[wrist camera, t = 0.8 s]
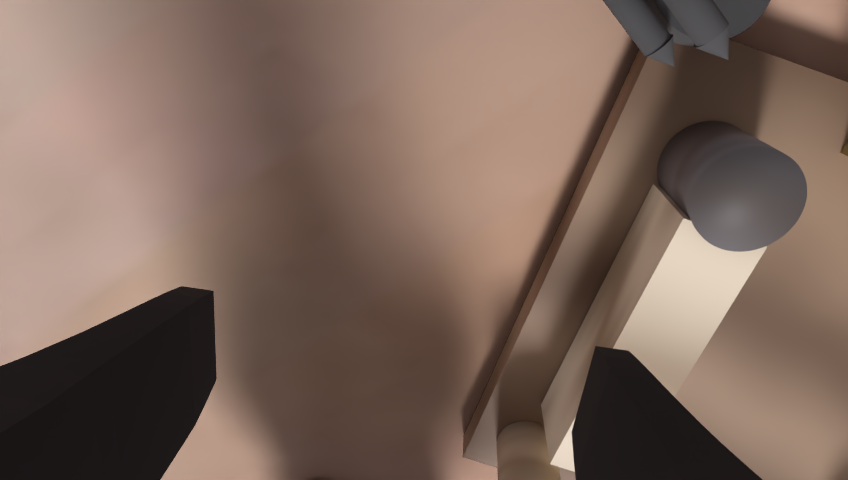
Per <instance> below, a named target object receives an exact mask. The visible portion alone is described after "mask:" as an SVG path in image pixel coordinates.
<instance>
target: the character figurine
mask: <svg viewBox="0 0 848 480" xmlns="http://www.w3.org/2000/svg"><path fill="white" fill-rule="evenodd" d="M603 1H604V2H605V4H606V5H607V6H608V8H609V9H610V10H611V12H612V13H613V14H614V16H615V17H616V18H617V20H618V21H619V22H620V24H621V25H622V26H623V28H624V29H625V30H626V32H627V33H628V34H629V36H630V37H631V38H632V40H633V41H634V42H635V44H636V45H637V46H638V48H639V49H640V50H641V52H642V53H643V54H644V56H646V57H649V58H651V59H654V60H657V61H660V62H662V63H665V64H668V65H671V66H673V67H675V64H674V43H677V44H680V45H686V46H693V47H694V48H697V49H700V50H702V51H705V52H708V53H711V54H713V55H716V56H719V57H722V58H724V59H727V60H728V53H729V38H731V37H734V36H736V35H738V34H740V33H742V32H743V31H745V30H746V29H747V28H749V27H750V26H751V25H752V24H753V23H754V22H755V21H756V20H757V19H758V18H759V17H760V16H761V15H762V13H763V12H764V10H765V9H766V7H767V6H768V4H769V2H770V0H603Z"/></svg>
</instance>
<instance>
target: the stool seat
mask: <svg viewBox="0 0 848 480" xmlns="http://www.w3.org/2000/svg"><path fill="white" fill-rule="evenodd" d="M674 64H675V67H673V66H671V65H668V64H665V63H662V62H660V61H657V60H654V59H651V58H649V57H646V56H644V54H643V53H642V52H641V50H640V49H639V50H638V53H637V55H636V57H635V59H634V61H633V64H632V66H631V68H630V70H629V72H628V75H627V77H626V79H625V81H624V84H623V86H622V88H621V90H620V92H619V95H618V97H617V99H616V101H615V103H614V106H613V108H612V110H611V112H610V114H609V117H608V119H607V121H606V123H605V125H604V128H603V130H602V132H601V134H600V136H599V139H598V141H597V143H596V145H595V147H594V150H593V152H592V154H591V156H590V158H589V161H588V163H587V165H586V167H585V169H584V172H583V174H582V176H581V178H580V181H579V183H578V185H577V187H576V189H575V192H574V194H573V196H572V198H571V200H570V203H569V205H568V207H567V209H566V211H565V214H564V216H563V218H562V220H561V222H560V225H559V227H558V229H557V231H556V233H555V236H554V238H553V240H552V242H551V244H550V247H549V249H548V251H547V253H546V255H545V258H544V260H543V262H542V264H541V266H540V269H539V271H538V273H537V275H536V277H535V280H534V282H533V284H532V286H531V289H530V291H529V293H528V295H527V297H526V300H525V302H524V304H523V306H522V308H521V311H520V313H519V315H518V317H517V319H516V322H515V324H514V326H513V328H512V330H511V333H510V335H509V337H508V339H507V341H506V344H505V346H504V348H503V350H502V352H501V355H500V357H499V359H498V361H497V363H496V366H495V368H494V370H493V372H492V374H491V377H490V379H489V381H488V383H487V385H486V388H485V390H484V392H483V394H482V397H481V399H480V401H479V403H478V405H477V408H476V410H475V412H474V414H473V416H472V419H471V421H470V423H469V425H468V427H467V430H466V432H465V434H464V440H463V457H465V458H468V459H471V460H474V461H477V462H480V463H484V464H487V465H490V466H493V467H496V468H498V480H576V478H575V472H573V471H570V470H567V469H564V468H561V467H557V466H554V465H551V464H550V461H549V455H548V448H547V441H546V435H545V428H544V421H543V415H542V408H541V404H542V402H543V400H544V398H545V396H546V394H547V392H548V390H549V388H550V386H551V384H552V382H553V380H554V378H555V376H556V374H557V372H558V370H559V368H560V366H561V364H562V362H563V360H564V358H565V356H566V354H567V352H568V350H569V348H570V347H571V345H572V343H573V341H574V339H575V337H576V335H577V333H578V331H579V329H580V327H581V325H582V323H583V321H584V319H585V317H586V315H587V313H588V311H589V309H590V307H591V305H592V303H593V301H594V299H595V297H596V295H597V293H598V291H599V289H600V287H601V285H602V284H603V282H604V280H605V278H606V276H607V274H608V272H609V270H610V268H611V266H612V264H613V262H614V260H615V258H616V256H617V254H618V252H619V250H620V248H621V246H622V244H623V242H624V240H625V238H626V236H627V234H628V232H629V230H630V228H631V226H632V224H633V222H634V221H635V219H636V217H637V215H638V213H639V211H640V209H641V207H642V205H643V203H644V201H645V199H646V197H647V195H648V193H649V191H650V189H651V187H652V185H653V184H656V185H658V186H660V185H659V182H658V176H657V168H658V162H659V158H660V156H661V153H662V151H663V150H664V148H665V146H666V145H667V143H668V142H669V141H670V140H671V139H672V138H673V137H674V136H675V135H676V134H677V133H678V132H680V131H681V130H683V129H684V128H686V127H688V126H690V125H693V124H696V123H699V122H703V121H722V122H726V123H729V124H732V125H734V126H736V127H737V128H739V129H741V130H743V131H745V132H746V133H748V134H750V135H752V136H754V137H756V138H757V139H759V140H761V141H763V142H765V143H766V144H768V145H770V146H772V147H774V148H775V149H777V150H779V151H781V152H783V153H784V154H786V155H788V156H789V157H791V158H792V159H793V160H794V161H795V162H796V163H797V164H798V165H799V166H800V168H801V170H802V171H803V173H804V176H805V178H806V183H807V199H806V203H805V207H804V209H803V212H802V214H801V216H800V218H799V219H798V221H797V222H796V223H795V225H794V226H793V227H792V228H791V229H790V230H789V231H788V232H787V233H786V234H785V235H784V236H783V237H781V238H780V239H778V240H777V241H775V242H773V243H772V244H770V245H767V248H766V250H765V252H764V253H763V255H762V256H761V258H760V260H759V261H758V263H757V264H756V266H755V268H754V269H753V271H752V273H751V274H750V276H749V277H748V279H747V281H746V282H745V284H744V285H743V287H742V289H741V290H740V292H739V294H738V295H737V297H736V298H735V300H734V302H733V303H732V305H731V306H730V308H729V310H728V311H727V313H726V315H725V316H724V318H723V319H722V321H721V323H720V324H719V326H718V327H717V329H716V331H715V332H714V334H713V336H712V337H711V339H710V340H709V342H708V344H707V345H706V347H705V348H704V350H703V352H702V353H701V355H700V357H699V358H698V360H697V361H696V363H695V365H694V366H693V368H692V370H691V371H690V373H689V374H688V376H687V378H686V379H685V381H684V382H683V384H682V386H681V387H680V389H679V391H678V392H677V394H676V395H675V398H676V399H677V400H678V401H679V402H680V403H681V404H682V405H683V406H684V407H685V408H686V409H687V410H688V411H689V412H690V413H691V414H692V415H693V416H694V417H695V418H696V419H697V420H698V421H699V422H700V423H701V424H702V425H703V426H704V427H705V428H706V429H707V430H708V431H709V432H710V433H711V434H712V435H714V436H715V437H716V438H717V439H718V440H719V441H720V442H721V443H722V444H723V445H724V446H725V447H726V448H728V449H729V450H730V451H731V452H732V453H733V454H734V455H735V456H736V457H738V458H739V459H740V460H741V461H742V462H743V463H744V464H745V465H747V466H748V467H749V468H750V469H751V470H752V471H753V472H755V473H756V474H757V475H758V476H759V477H760V478H762V479H763V480H848V82H846V81H843V80H841V79H838V78H835V77H832V76H829V75H827V74H824V73H821V72H818V71H816V70H813V69H810V68H807V67H804V66H802V65H799V64H796V63H793V62H791V61H788V60H785V59H782V58H779V57H777V56H774V55H771V54H768V53H765V52H763V51H760V50H757V49H754V48H752V47H749V46H746V45H743V44H740V43H738V42H735V41H732V40H729V53H728V60H727V59H724V58H722V57H719V56H716V55H713V54H711V53H708V52H705V51H702V50H700V49H697V48H694V47H693V46H686V45H680V44H677V43H674Z"/></svg>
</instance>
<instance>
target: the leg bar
mask: <svg viewBox="0 0 848 480" xmlns="http://www.w3.org/2000/svg"><path fill="white" fill-rule="evenodd" d="M657 176H658V182H659V185H660V186H658V185H656V184H653V185H652V187H651V189H650V191H649V193H648V195H647V197H646V199H645V201H644V203H643V205H642V207H641V209H640V211H639V213H638V215H637V217H636V219H635V221H634V222H633V224H632V226H631V228H630V230H629V232H628V234H627V236H626V238H625V240H624V242H623V244H622V246H621V248H620V250H619V252H618V254H617V256H616V258H615V260H614V262H613V264H612V266H611V268H610V270H609V272H608V274H607V276H606V278H605V280H604V282H603V284H602V285H601V287H600V289H599V291H598V293H597V295H596V297H595V299H594V301H593V303H592V305H591V307H590V309H589V311H588V313H587V315H586V317H585V319H584V321H583V323H582V325H581V327H580V329H579V331H578V333H577V335H576V337H575V339H574V341H573V343H572V345H571V347H570V348H569V350H568V352H567V354H566V356H565V358H564V360H563V362H562V364H561V366H560V368H559V370H558V372H557V374H556V376H555V378H554V380H553V382H552V384H551V386H550V388H549V390H548V392H547V394H546V396H545V398H544V400H543V402H542V404H541V408H542V415H543V421H544V428H545V435H546V441H547V448H548V455H549V461H550V464H551V465H554V466H557V467H561V468H564V469H567V470H570V471H573V472H575V468H574V457H573V444H572V429H573V425H574V421H575V418H576V414H577V411H578V407H579V403H580V400H581V396H582V393H583V389H584V385H585V382H586V378H587V375H588V371H589V367H590V364H591V360H592V357H593V353H594V349H595V346H600V347H607V348H614V349H620V350H627V351H630V352H631V353H632V354H633V355H634V356H635V357H636V358H637V359H638V360H639V361H640V362H641V363H642V364H643V365H644V366H645V367H646V368H647V369H648V370H649V371H650V372H651V373H652V374H653V375H654V376H655V377H656V378H657V379H658V380H659V381H660V382H661V383H662V385H663V386H664V387H665V388H666V389H667V390H668V391H669V392H670V393H671V394H672V395H673V396H674V397H675V395H676V394H677V392H678V391H679V389H680V387H681V386H682V384H683V382H684V381H685V379H686V378H687V376H688V374H689V373H690V371H691V370H692V368H693V366H694V365H695V363H696V361H697V360H698V358H699V357H700V355H701V353H702V352H703V350H704V348H705V347H706V345H707V344H708V342H709V340H710V339H711V337H712V336H713V334H714V332H715V331H716V329H717V327H718V326H719V324H720V323H721V321H722V319H723V318H724V316H725V315H726V313H727V311H728V310H729V308H730V306H731V305H732V303H733V302H734V300H735V298H736V297H737V295H738V294H739V292H740V290H741V289H742V287H743V285H744V284H745V282H746V281H747V279H748V277H749V276H750V274H751V273H752V271H753V269H754V268H755V266H756V264H757V263H758V261H759V260H760V258H761V256H762V255H763V253H764V252H765V250H766V248H767V245H770V244H772V243H773V242H775V241H777V240H778V239H780V238H781V237H783V236H784V235H785V234H786V233H787V232H788V231H789V230H790V229H791V228H792V227H793V226H794V225H795V223H796V222H797V221H798V219H799V218H800V216H801V214H802V212H803V209H804V207H805V203H806V199H807V183H806V178H805V176H804V173H803V171H802V170H801V168H800V166H799V165H798V164H797V163H796V162H795V161H794V160H793V159H792V158H791V157H789V156H788V155H786V154H784V153H783V152H781V151H779V150H777V149H775V148H774V147H772V146H770V145H768V144H766V143H765V142H763V141H761V140H759V139H757V138H756V137H754V136H752V135H750V134H748V133H746V132H745V131H743V130H741V129H739V128H737V127H736V126H734V125H732V124H729V123H726V122H722V121H703V122H699V123H696V124H693V125H690V126H688V127H686V128H684V129H683V130H681V131H680V132H678V133H677V134H676V135H675V136H674V137H673V138H672V139H671V140H670V141H669V142H668V143H667V145H666V146H665V148H664V150H663V151H662V153H661V156H660V158H659V162H658V168H657Z"/></svg>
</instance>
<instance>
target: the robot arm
mask: <svg viewBox="0 0 848 480" xmlns="http://www.w3.org/2000/svg"><path fill="white" fill-rule="evenodd" d="M215 381H216V353H215V325H214V296H213V291H210V290H203V289H196V288H190V287H183V286H182V287H179V288H176V289H174V290H171V291H169V292H166V293H164V294H162V295H160V296H158V297H155V298H153V299H151V300H149V301H147V302H145V303H143V304H141V305H138V306H136V307H134V308H132V309H130V310H128V311H126V312H124V313H122V314H120V315H118V316H115V317H113V318H111V319H109V320H107V321H105V322H103V323H101V324H99V325H97V326H94V327H92V328H90V329H88V330H86V331H84V332H82V333H79V334H77V335H75V336H72V337H70V338H68V339H65V340H63V341H61V342H58V343H56V344H54V345H51V346H49V347H47V348H44V349H42V350H40V351H37V352H35V353H33V354H30V355H28V356H26V357H23V358H21V359H18V360H16V361H13V362H10V363H8V364H5V365H2V366H0V480H160V479H161V478H162V476H163V475H164V473H165V471H166V470H167V468H168V467H169V465H170V464H171V462H172V461H173V459H174V458H175V456H176V454H177V453H178V451H179V450H180V448H181V447H182V445H183V443H184V442H185V440H186V439H187V437H188V436H189V434H190V432H191V431H192V429H193V428H194V426H195V424H196V422H197V420H198V418H199V416H200V414H201V412H202V410H203V408H204V406H205V404H206V401H207V399H208V397H209V395H210V392H211V390H212V388H213V386H214V384H215ZM572 444H573V457H574V468H575V478H576V480H763V479H762V478H760V477H759V476H758V475H757V474H756V473H755V472H753V471H752V470H751V469H750V468H749V467H748V466H747V465H745V464H744V463H743V462H742V461H741V460H740V459H739V458H738V457H736V456H735V455H734V454H733V453H732V452H731V451H730V450H729V449H728V448H726V447H725V446H724V445H723V444H722V443H721V442H720V441H719V440H718V439H717V438H716V437H715V436H714V435H712V434H711V433H710V432H709V431H708V430H707V429H706V428H705V427H704V426H703V425H702V424H701V423H700V422H699V421H698V420H697V419H696V418H695V417H694V416H693V415H692V414H691V413H690V412H689V411H688V410H687V409H686V408H685V407H684V406H683V405H682V404H681V403H680V402H679V401H678V400H677V399H676V398H675V397H674V396H673V395H672V394H671V393H670V392H669V391H668V390H667V389H666V388H665V387H664V386H663V385H662V383H661V382H660V381H659V380H658V379H657V378H656V377H655V376H654V375H653V374H652V373H651V372H650V371H649V370H648V369H647V368H646V367H645V366H644V365H643V364H642V363H641V362H640V361H639V360H638V359H637V358H636V357H635V356H634V355H633V354H632V353H631V352H630V351H627V350H620V349H614V348H607V347H600V346H595V349H594V353H593V357H592V360H591V364H590V367H589V371H588V375H587V378H586V382H585V385H584V389H583V393H582V396H581V400H580V403H579V407H578V411H577V414H576V418H575V421H574V425H573V429H572Z"/></svg>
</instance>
